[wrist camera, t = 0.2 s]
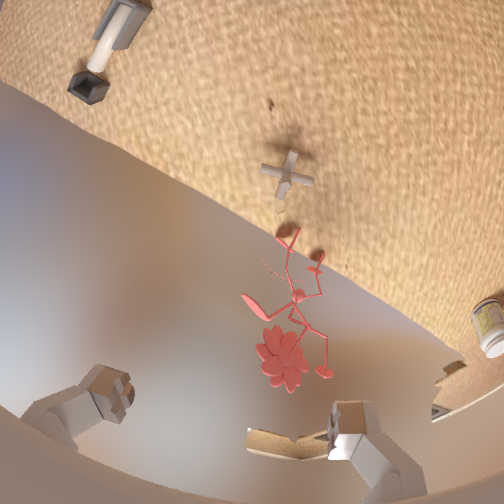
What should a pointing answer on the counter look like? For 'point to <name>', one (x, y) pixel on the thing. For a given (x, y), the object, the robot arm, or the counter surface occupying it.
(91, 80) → the socket
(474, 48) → the counter surface
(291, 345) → the figurine
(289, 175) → the pipe connector
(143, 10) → the sleeve
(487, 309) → the supplement tub
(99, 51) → the slip tube
